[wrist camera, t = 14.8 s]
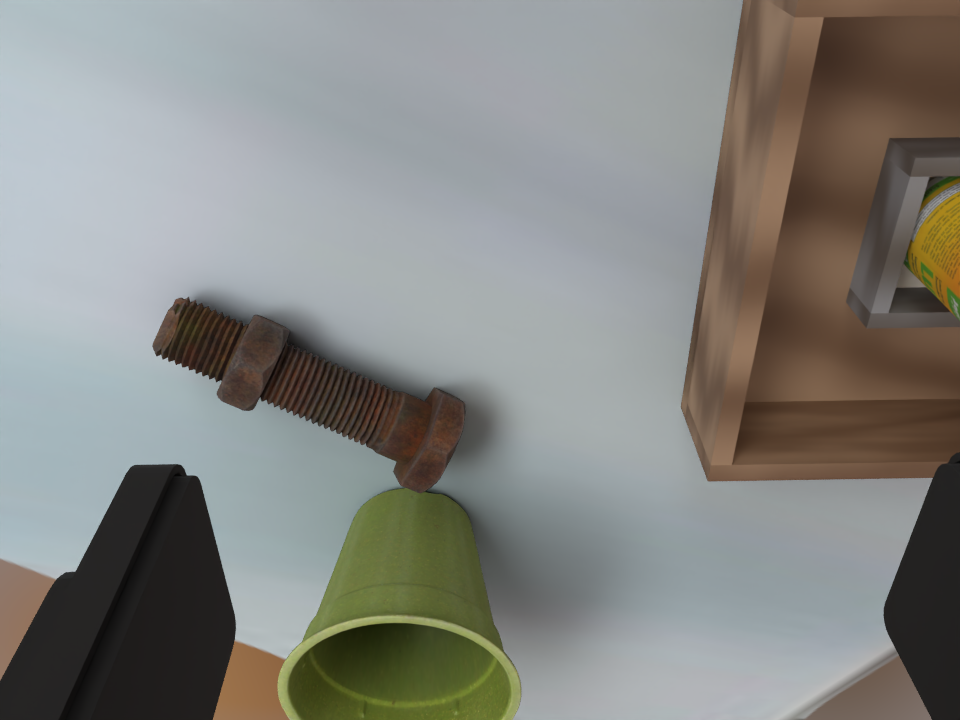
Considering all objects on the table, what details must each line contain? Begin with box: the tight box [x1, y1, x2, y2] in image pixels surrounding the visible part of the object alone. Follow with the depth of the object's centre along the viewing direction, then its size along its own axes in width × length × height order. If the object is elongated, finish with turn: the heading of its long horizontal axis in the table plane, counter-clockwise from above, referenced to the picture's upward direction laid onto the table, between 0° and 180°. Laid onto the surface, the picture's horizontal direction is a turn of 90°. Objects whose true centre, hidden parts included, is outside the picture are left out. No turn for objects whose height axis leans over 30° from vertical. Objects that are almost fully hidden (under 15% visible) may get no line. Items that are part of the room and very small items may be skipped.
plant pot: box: [278, 488, 521, 720], centre depth 45 cm, size 12×12×11 cm
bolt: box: [153, 297, 465, 494], centre depth 41 cm, size 6×5×15 cm
